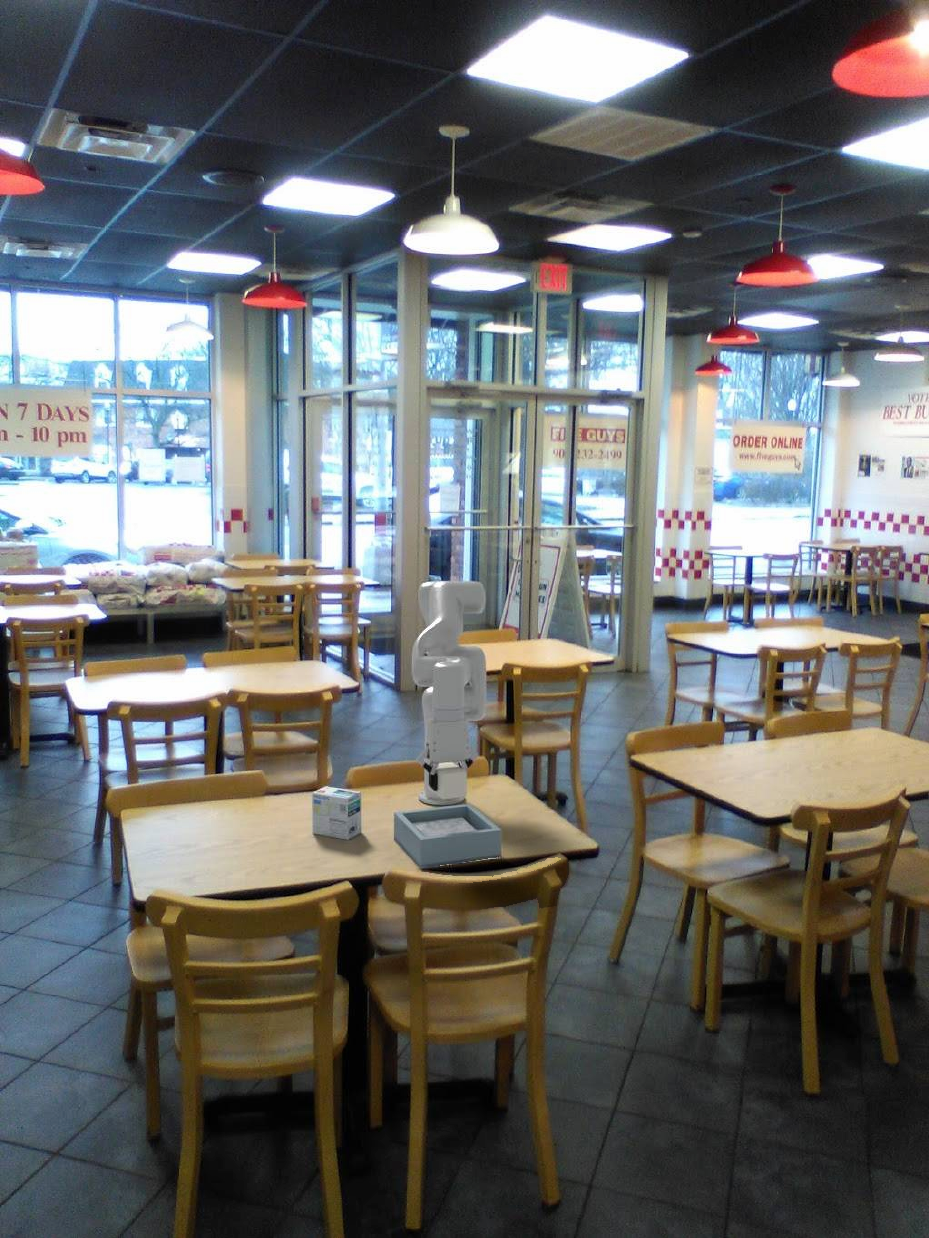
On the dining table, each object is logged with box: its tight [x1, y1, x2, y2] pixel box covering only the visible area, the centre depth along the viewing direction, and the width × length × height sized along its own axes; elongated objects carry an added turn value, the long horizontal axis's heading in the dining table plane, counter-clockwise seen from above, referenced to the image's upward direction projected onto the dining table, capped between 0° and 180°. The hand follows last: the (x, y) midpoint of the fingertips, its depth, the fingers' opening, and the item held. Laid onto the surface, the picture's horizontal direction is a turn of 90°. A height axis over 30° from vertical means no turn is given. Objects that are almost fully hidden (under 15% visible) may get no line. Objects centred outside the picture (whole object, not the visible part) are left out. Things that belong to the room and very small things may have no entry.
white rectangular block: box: [428, 762, 468, 799], centre depth 255 cm, size 9×6×6 cm, turn 24°
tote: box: [393, 803, 502, 870], centre depth 257 cm, size 20×20×7 cm
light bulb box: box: [311, 785, 362, 841], centre depth 267 cm, size 11×7×11 cm, turn 65°
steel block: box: [412, 817, 477, 837], centre depth 257 cm, size 13×13×4 cm
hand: (447, 787), depth 255 cm, fingers closed on white rectangular block, 6 cm apart
